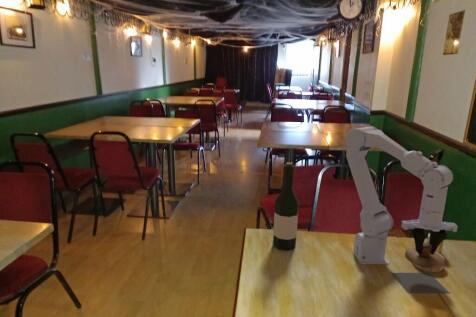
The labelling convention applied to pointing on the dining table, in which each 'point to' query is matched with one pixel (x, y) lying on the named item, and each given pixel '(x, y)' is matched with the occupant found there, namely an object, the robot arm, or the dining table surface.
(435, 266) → the lid
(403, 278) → the mat
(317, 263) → the dining table surface
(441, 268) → the bowl
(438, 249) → the supplement bottle
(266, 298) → the dining table surface
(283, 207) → the wine bottle
